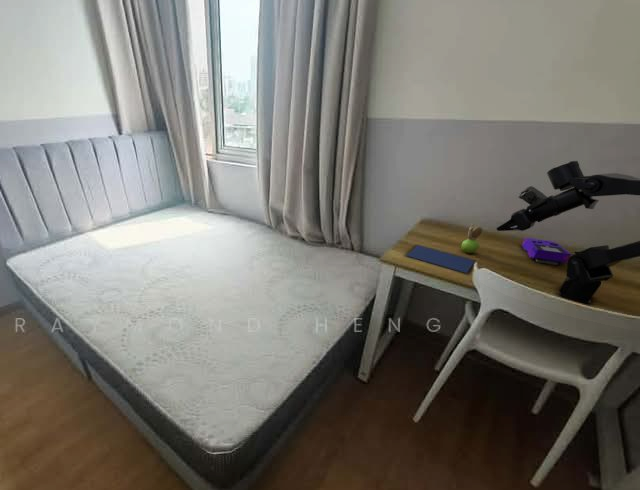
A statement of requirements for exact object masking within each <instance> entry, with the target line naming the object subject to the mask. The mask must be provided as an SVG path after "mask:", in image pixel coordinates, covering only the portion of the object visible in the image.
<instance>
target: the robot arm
mask: <svg viewBox="0 0 640 490" xmlns="http://www.w3.org/2000/svg"><path fill="white" fill-rule="evenodd" d="M546 175H547V177H548V179H549V181H550V183H551V186H552V187H553V189H554V190H559V191H560V193H557V194H554V195H549V196H547V195H545V194H544V193H543V192H542V191H540V190H539V189H537V188H536V187H534V186H528V187H526V188H525V189H523V191H521V192H520V193H519V194H518V195H517V197H518V199H520V200H522V201H524V202H526V203H527V204H529V205H527V207H526V208H522V209H518V210H517V211H515V212H513V213H511V215H510V216H511V217H510V219H509V220H507V221H505V222H504V223H502V224H501V225H499V226H497V227H496V228H495V229H496V230H497V232H504V231H505V232H506V231H508V232H509V231H519V232H521V231H522V232H524V231H526V230H529V229H531V228H533V227H534V226H535V224H536V223H540V222H543V221H546V220H547V219H550V218H552V217H557V216H559V215H561V214H563V213H566V212H569V211H571V210H574V209H576V208H579V207H582V206H583V207H584V208H585V209H587V210H594V209H595V207H596V205H597V203H599V201H600V200H599V199H595V198H594V197H607V196H623V195H624V196H625V195H628V196H629V195H630V196H640V178H639V177H635V176H632V175H628V174H624V173H623V174H622V173H617V172H613V173H612V172H611V173H601V174H592V175H584V173H583V171H582V169H581V166H580V163H579V161H578V160H571V161H569V162H567V163H564V164H561V165H558V166H556V167H553V168H550V169H549V170H548V171H547V172H546ZM573 253H574V254H571V255H570V257H569V258H568V260H567V262H566V266H567V267H566V275H565V276H566V277H564V280H563V281H562V283H561V285H560V286H559V289H558V292H559V297H562V298H566V299H569V300H572V301H577V302H579V303H583V304H587V305H590V303H591V300H592V298H593V296H594V295H595V294H596V292H597V291H598V290H599V289H600V287H601V285H602V282H607V281H609V280H611V279H612V278H613V277H614V274H613V271H612V270H611V267H613V266H615V265H616V264H619V263H621V262H623V261H626V260H632V259H636V258H640V240H637V241H634V242H630V243H627V244H623V245H619V246H615V247H612V248H610V247H609V244H606V245H605V244H604V245H597V246H591V247H588V248H585V249H583V250H577V251H574V252H573Z"/></svg>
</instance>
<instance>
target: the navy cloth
mask: <svg viewBox="0 0 640 490" xmlns="http://www.w3.org/2000/svg"><path fill="white" fill-rule="evenodd" d="M406 257H407V258H410V259H415V260H418V261H420V262H421V261H422V262H425V263H428V264H431V265H435V266H439V267H442V268H446V269H449V270H453V271H456V272H459V273H462V274H465V275H466V274H468V272H469V271H470V270H471V268H472V266H473V265H474V263H475V262H476V260H475V259H472V258H467V257H463V256H460V255H455V254H452V253H449V252H446V251H440V250H437V249H434V248H429V247H426V246H423V245H416V246H415V247H413V249H412V250H411V251H409V253H407V254H406Z"/></svg>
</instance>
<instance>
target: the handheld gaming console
mask: <svg viewBox="0 0 640 490" xmlns="http://www.w3.org/2000/svg"><path fill="white" fill-rule="evenodd" d="M522 248H523V250H524V251H527V252H526V253H527V255H528V257H529V258H530V259H535V262H536V263H540V264H547V265H553V266H558V265H559V263H561V264H562V263H565V264H567V260H568V259H569V257H570V256H571V255H572V253H570V252H569V251H568V250H567V249H566V248H564V247H563V246H561V245H560V244H558V243H557V242H556V241H552V240H545V239H537V238H527V237H525V238H524V240H523V242H522Z"/></svg>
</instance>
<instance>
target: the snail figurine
mask: <svg viewBox="0 0 640 490" xmlns="http://www.w3.org/2000/svg"><path fill="white" fill-rule="evenodd" d="M474 226H475V225H474V224H473V223H470V227H469V228H468V232H467V239H465V240H463V242H462V243H461V246H460V247H461V250H462V251H463V252H465V253H467V254H473V253H475V252H476V251H477V250H478V249H479V248H480V243H479V241H478V240H477V239H478V238H479V237H480V236H481V234H482V233H483V227H481V226H475V227H474Z"/></svg>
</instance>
